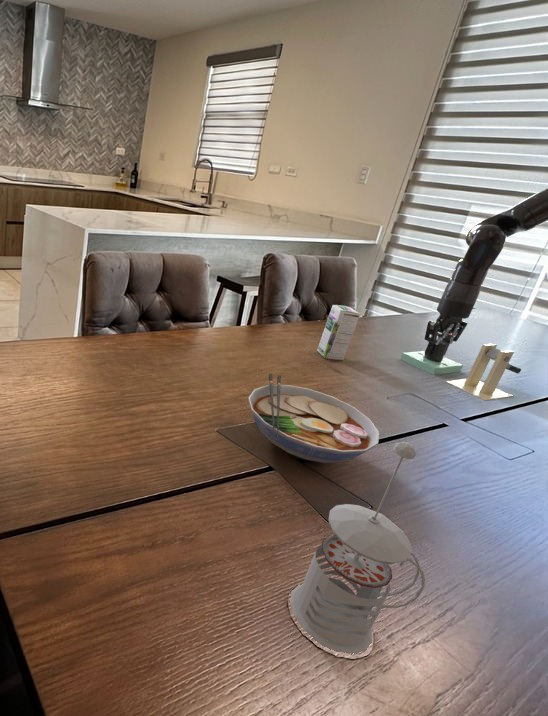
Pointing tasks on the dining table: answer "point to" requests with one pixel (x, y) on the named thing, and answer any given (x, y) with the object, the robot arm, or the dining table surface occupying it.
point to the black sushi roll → (439, 352)
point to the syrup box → (338, 332)
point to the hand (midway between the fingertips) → (434, 354)
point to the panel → (431, 363)
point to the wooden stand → (488, 387)
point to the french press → (353, 574)
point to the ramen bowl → (311, 423)
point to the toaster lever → (493, 355)
